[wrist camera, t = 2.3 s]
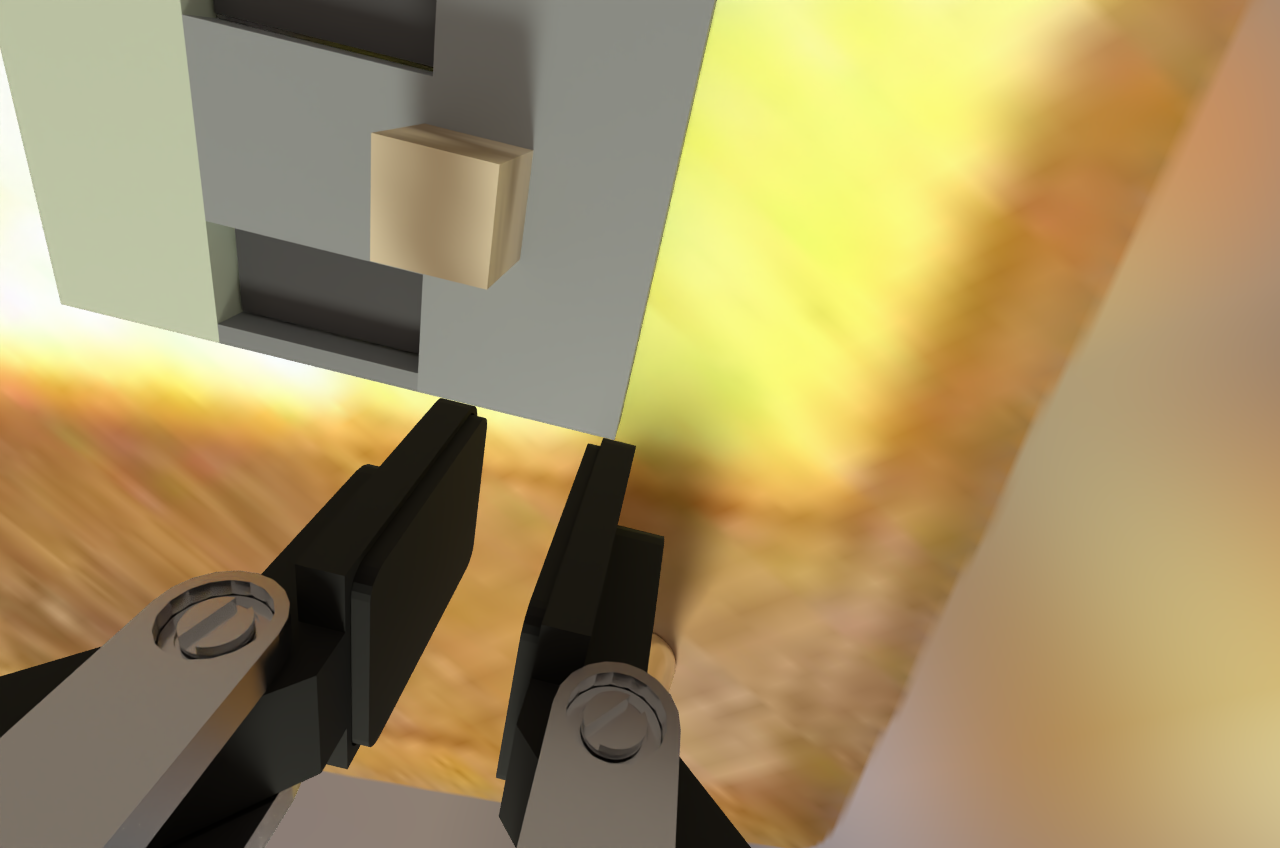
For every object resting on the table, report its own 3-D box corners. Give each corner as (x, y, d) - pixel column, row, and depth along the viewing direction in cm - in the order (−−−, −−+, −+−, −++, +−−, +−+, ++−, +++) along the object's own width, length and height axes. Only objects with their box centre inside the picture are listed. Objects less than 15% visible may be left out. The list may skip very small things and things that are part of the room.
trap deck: (95, 291, 34) (60, 303, 32) (-12, -222, 24) (-70, -245, 22) (620, 421, 34) (614, 440, 32) (725, -39, 24) (725, -47, 22)
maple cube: (419, 234, 28) (370, 260, 24) (424, 123, 26) (371, 132, 22) (519, 259, 28) (486, 289, 24) (533, 150, 26) (499, 164, 22)
